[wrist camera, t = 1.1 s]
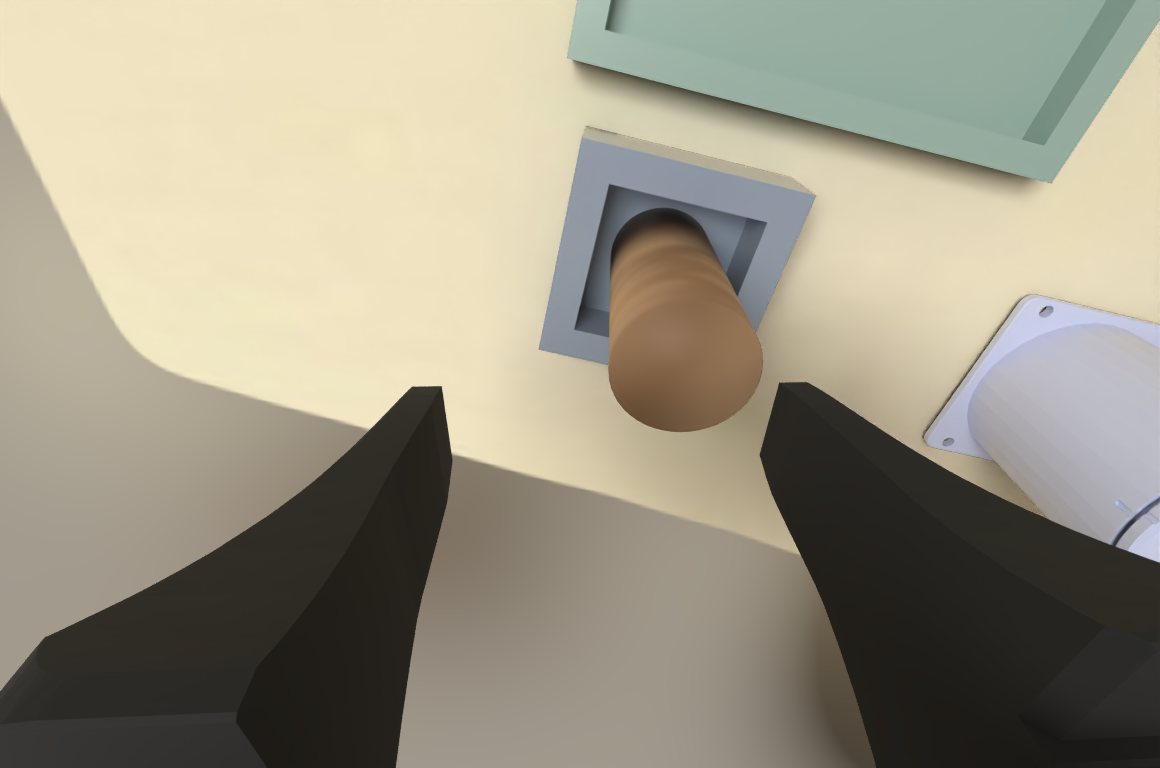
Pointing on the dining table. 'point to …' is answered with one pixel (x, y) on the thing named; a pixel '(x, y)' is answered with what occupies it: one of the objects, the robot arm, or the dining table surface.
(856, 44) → the tray
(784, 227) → the grey square recessed block
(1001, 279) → the dining table surface
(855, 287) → the dining table surface
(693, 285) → the dowel
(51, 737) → the robot arm
